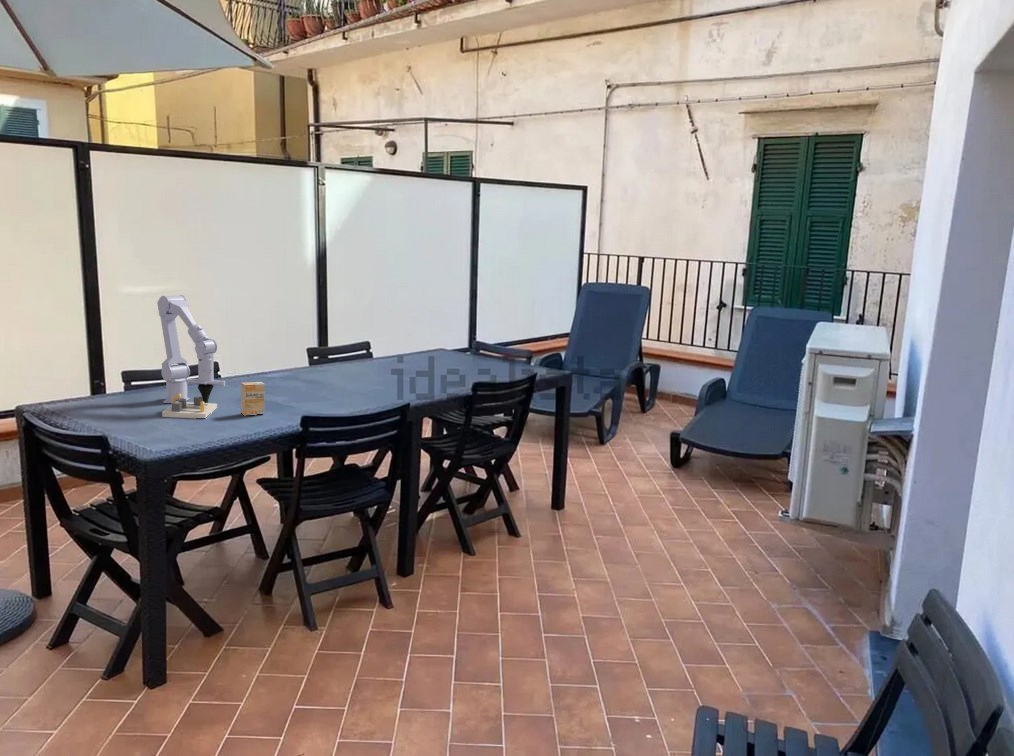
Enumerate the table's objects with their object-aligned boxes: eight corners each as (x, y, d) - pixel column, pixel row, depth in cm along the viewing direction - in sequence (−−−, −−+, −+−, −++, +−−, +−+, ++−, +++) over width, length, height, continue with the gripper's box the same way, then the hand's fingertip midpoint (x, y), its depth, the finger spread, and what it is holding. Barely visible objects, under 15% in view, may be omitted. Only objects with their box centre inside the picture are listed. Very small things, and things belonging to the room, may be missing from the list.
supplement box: (243, 416, 298) (244, 384, 296) (240, 414, 302) (240, 382, 300) (264, 415, 303) (265, 383, 301) (260, 412, 307) (261, 381, 304)
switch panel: (176, 406, 305) (176, 392, 304) (217, 408, 307) (217, 394, 306) (162, 416, 289) (162, 401, 288) (205, 418, 291) (205, 403, 290)
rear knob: (195, 403, 305) (195, 395, 304) (203, 403, 305) (203, 395, 304) (193, 405, 302) (193, 396, 301) (201, 405, 302) (201, 397, 301)
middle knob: (178, 405, 299) (178, 397, 298) (186, 406, 299) (186, 397, 298) (176, 407, 296) (176, 399, 295) (184, 408, 296) (184, 399, 295)
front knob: (174, 409, 293) (174, 400, 293) (182, 409, 294) (182, 401, 293) (171, 411, 290) (171, 402, 290) (179, 411, 291) (179, 402, 290)
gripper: (184, 370, 296) (184, 403, 299) (222, 372, 298) (221, 405, 301) (189, 367, 303) (189, 399, 306) (226, 369, 305) (226, 401, 307)
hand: (205, 402), depth 304 cm, fingers closed
